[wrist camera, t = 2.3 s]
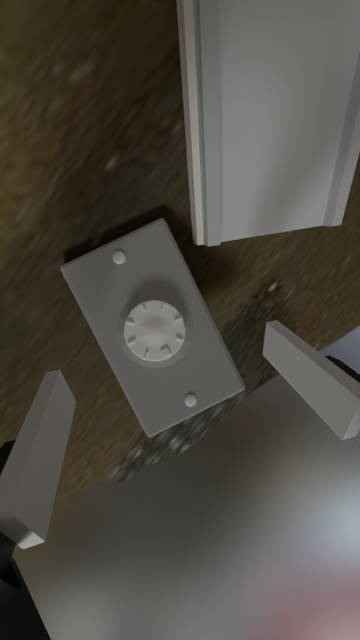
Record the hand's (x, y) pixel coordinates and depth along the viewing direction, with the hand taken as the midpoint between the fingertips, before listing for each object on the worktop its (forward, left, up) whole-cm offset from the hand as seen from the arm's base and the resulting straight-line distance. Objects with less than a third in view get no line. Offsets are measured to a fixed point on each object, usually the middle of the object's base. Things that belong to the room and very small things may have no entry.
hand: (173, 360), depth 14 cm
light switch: (0, 0, -8) cm, 8 cm away
